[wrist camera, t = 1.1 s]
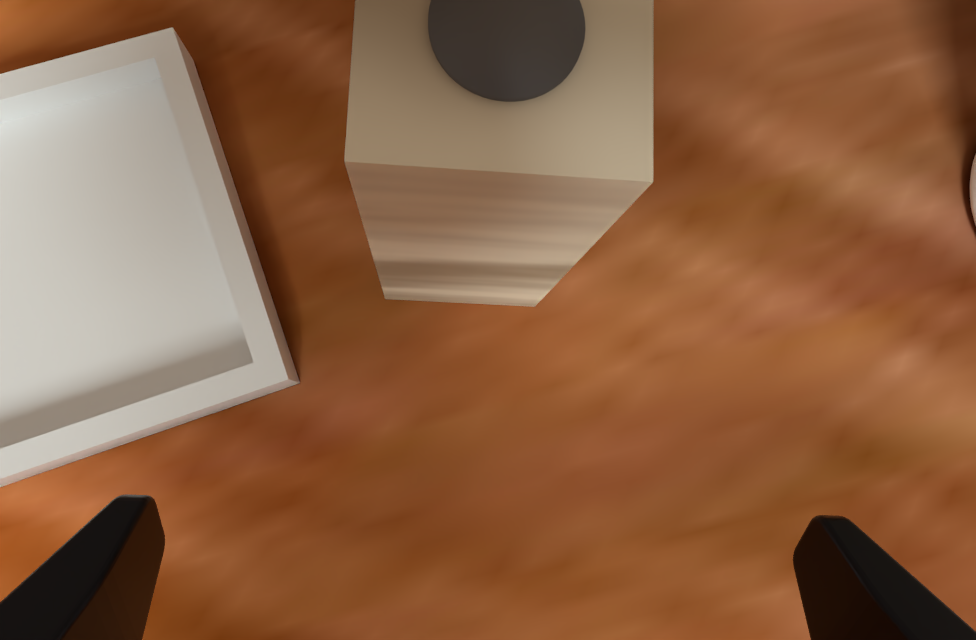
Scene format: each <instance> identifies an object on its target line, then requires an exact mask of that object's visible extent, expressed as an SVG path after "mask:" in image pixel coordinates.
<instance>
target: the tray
mask: <svg viewBox="0 0 976 640" xmlns="http://www.w3.org/2000/svg"><path fill="white" fill-rule="evenodd" d="M299 383H300V381H299V378H298V375H297V372H296V369H295V366H294V363H293V360H292V357H291V354H290V351H289V348H288V345H287V342H286V339H285V336H284V333H283V330H282V327H281V324H280V321H279V318H278V315H277V312H276V309H275V306H274V303H273V300H272V297H271V294H270V291H269V288H268V285H267V281H266V278H265V275H264V272H263V269H262V266H261V263H260V260H259V257H258V254H257V251H256V248H255V245H254V242H253V239H252V236H251V233H250V230H249V227H248V224H247V221H246V218H245V215H244V212H243V209H242V206H241V203H240V200H239V197H238V194H237V191H236V188H235V185H234V182H233V179H232V176H231V173H230V170H229V166H228V163H227V160H226V157H225V154H224V151H223V148H222V145H221V142H220V139H219V136H218V133H217V130H216V127H215V124H214V121H213V118H212V115H211V112H210V109H209V106H208V103H207V100H206V97H205V94H204V91H203V88H202V85H201V82H200V79H199V76H198V73H197V70H196V67H195V64H194V61H193V59H192V57H191V55H190V54H189V52H188V51H187V49H186V47H185V46H184V44H183V43H182V41H181V39H180V38H179V36H178V35H177V33H176V31H175V30H174V28H173V27H172V28H168V29H164V30H160V31H157V32H153V33H149V34H146V35H142V36H138V37H135V38H131V39H127V40H124V41H120V42H116V43H113V44H109V45H105V46H102V47H98V48H94V49H90V50H87V51H83V52H79V53H76V54H72V55H68V56H65V57H61V58H57V59H54V60H50V61H46V62H43V63H39V64H35V65H32V66H28V67H24V68H20V69H17V70H13V71H9V72H6V73H2V74H0V487H2V486H5V485H8V484H11V483H14V482H17V481H20V480H22V479H25V478H28V477H31V476H34V475H37V474H40V473H43V472H45V471H48V470H51V469H54V468H57V467H60V466H63V465H66V464H68V463H71V462H74V461H77V460H80V459H83V458H86V457H89V456H92V455H94V454H97V453H100V452H103V451H106V450H109V449H112V448H115V447H117V446H120V445H123V444H126V443H129V442H132V441H135V440H138V439H141V438H143V437H146V436H149V435H152V434H155V433H158V432H161V431H164V430H166V429H169V428H172V427H175V426H178V425H181V424H184V423H187V422H190V421H192V420H195V419H198V418H201V417H204V416H207V415H210V414H213V413H215V412H218V411H221V410H224V409H227V408H230V407H233V406H236V405H239V404H241V403H244V402H247V401H250V400H253V399H256V398H259V397H262V396H264V395H267V394H270V393H273V392H276V391H279V390H282V389H285V388H287V387H290V386H293V385H296V384H299Z"/></svg>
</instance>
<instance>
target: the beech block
mask: <svg viewBox="0 0 976 640" xmlns="http://www.w3.org/2000/svg"><path fill="white" fill-rule="evenodd" d="M344 162H345V166H346V169H347V173H348V176H349V179H350V183H351V186H352V189H353V193H354V196H355V199H356V203H357V206H358V209H359V213H360V216H361V220H362V223H363V226H364V230H365V233H366V236H367V240H368V243H369V246H370V250H371V253H372V256H373V260H374V263H375V266H376V270H377V273H378V277H379V280H380V283H381V287H382V290H383V293H384V297H385V299H394V300H414V301H434V302H453V303H473V304H493V305H513V306H533V307H535V306H536V305H537V304H538V303H539V302H540V301H541V300H542V299H543V298H544V296H545V295H546V294H547V293H548V292H549V291H550V290H551V289H552V288H553V287H554V286H555V285H556V284H557V283H558V282H559V281H560V280H561V279H562V278H563V276H564V275H565V274H566V273H567V272H568V271H569V270H570V269H571V268H572V267H573V266H574V265H575V264H576V263H577V262H578V261H579V260H580V259H581V258H582V256H583V255H584V254H585V253H586V252H587V251H588V250H589V249H590V248H591V247H592V246H593V245H594V244H595V243H596V242H597V241H598V240H599V239H600V238H601V236H602V235H603V234H604V233H605V232H606V231H607V230H608V229H609V228H610V227H611V226H612V225H613V224H614V223H615V222H616V221H617V220H618V219H619V218H620V216H621V215H622V214H623V213H624V212H625V211H626V210H627V209H628V208H629V207H630V206H631V205H632V204H633V203H634V202H635V201H636V200H637V199H638V198H639V196H640V195H641V194H642V193H643V192H644V191H645V190H646V189H647V188H648V187H649V186H650V185H651V184H652V183H653V0H355V12H354V26H353V41H352V55H351V70H350V85H349V99H348V114H347V128H346V143H345V157H344Z"/></svg>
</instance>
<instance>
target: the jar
mask: <svg viewBox="0 0 976 640" xmlns="http://www.w3.org/2000/svg"><path fill="white" fill-rule="evenodd" d="M970 203H971V210H972V214H973V218H974V222H975V225H976V154H975V157H974V160H973V164H972V169H971V176H970Z"/></svg>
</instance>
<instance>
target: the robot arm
mask: <svg viewBox="0 0 976 640" xmlns="http://www.w3.org/2000/svg"><path fill="white" fill-rule="evenodd" d="M164 546H165V535H164V531H163V527H162V523H161V520H160V516H159V513H158V509H157V506H156V503H155V500H154V499H153V498H152V497H151V496H148V495H121V496H118V497H117V498H115V499H114V500H112V501H111V502H110V503H109V504H108V505H107V506H106V507H105V508H103V509H102V510H101V511H100V512H99V513H98V514H97V515H96V516H95V517H94V518H92V519H91V520H90V521H89V522H88V523H87V524H86V525H85V526H84V527H83V528H81V529H80V530H79V531H78V532H77V533H76V534H75V535H74V536H73V537H72V538H70V539H69V540H68V541H67V542H66V543H65V544H64V545H63V546H62V547H61V548H59V549H58V550H57V551H56V552H55V553H54V554H53V555H52V556H51V557H50V558H48V559H47V560H46V561H45V562H44V563H43V564H42V565H41V566H40V567H39V568H37V569H36V570H35V571H34V572H33V573H32V574H31V575H30V576H29V577H27V578H26V579H25V580H24V581H23V582H22V583H21V584H20V585H19V586H18V587H16V588H15V589H14V590H13V591H12V592H11V593H10V594H9V595H8V596H7V597H5V598H4V599H3V600H2V601H1V602H0V640H142V637H143V633H144V629H145V625H146V621H147V617H148V613H149V609H150V605H151V601H152V597H153V593H154V589H155V585H156V581H157V577H158V573H159V569H160V565H161V560H162V556H163V552H164ZM793 564H794V570H795V574H796V578H797V583H798V587H799V591H800V595H801V600H802V604H803V608H804V612H805V616H806V621H807V625H808V629H809V633H810V638H811V640H976V631H974V630H973V629H972V628H971V627H970V626H969V625H968V624H967V623H965V622H964V621H963V620H962V619H961V618H960V617H959V616H958V615H956V614H955V613H954V612H953V611H952V610H951V609H950V608H949V607H947V606H946V605H945V604H944V603H943V602H942V601H941V600H940V599H938V598H937V597H936V596H935V595H934V594H933V593H932V592H931V591H929V590H928V589H927V588H926V587H925V586H924V585H923V584H921V583H920V582H919V581H918V580H917V579H916V578H915V577H914V576H912V575H911V574H910V573H909V572H908V571H907V570H906V569H905V568H903V567H902V566H901V565H900V564H899V563H898V562H897V561H896V560H894V559H893V558H892V557H891V556H890V555H889V554H888V553H887V552H885V551H884V550H883V549H882V548H881V547H880V546H879V545H878V544H876V543H875V542H874V541H873V540H872V539H871V538H870V537H869V536H867V535H866V534H865V533H864V532H863V531H862V530H861V529H859V528H858V527H857V526H856V525H855V524H854V523H853V522H851V521H850V520H849V519H847V518H845V517H842V516H828V515H818V516H816V517H814V518H813V519H812V520H811V521H810V523H809V525H808V527H807V528H806V530H805V532H804V534H803V535H802V537H801V539H800V541H799V543H798V544H797V546H796V548H795V551H794V555H793Z"/></svg>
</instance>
